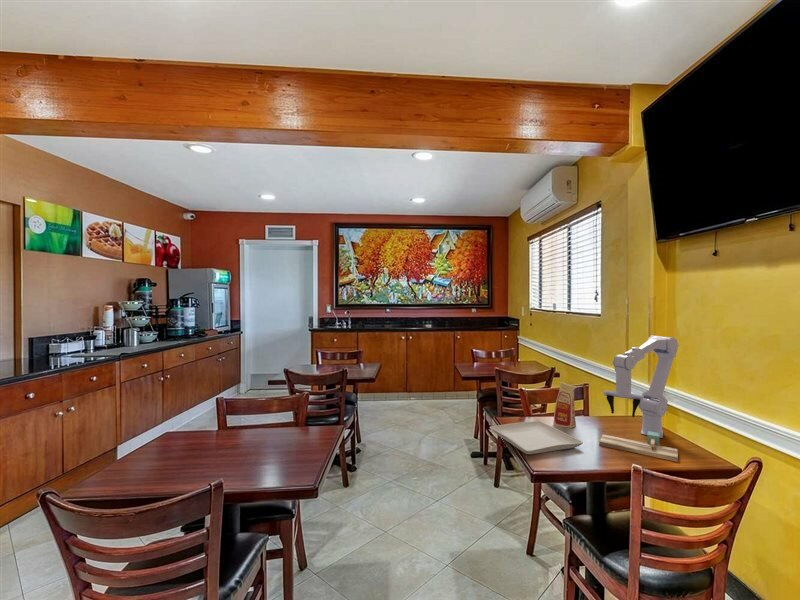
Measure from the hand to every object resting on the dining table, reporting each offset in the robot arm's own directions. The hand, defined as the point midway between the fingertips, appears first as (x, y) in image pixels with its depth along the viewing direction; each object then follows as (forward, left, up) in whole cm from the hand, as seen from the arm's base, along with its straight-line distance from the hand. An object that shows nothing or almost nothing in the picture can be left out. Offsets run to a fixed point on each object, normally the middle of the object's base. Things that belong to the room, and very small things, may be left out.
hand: (622, 414), depth 163 cm
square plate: (+26, -30, -11) cm, 41 cm away
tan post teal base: (+5, +11, -10) cm, 16 cm away
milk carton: (-5, -24, -11) cm, 27 cm away
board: (+9, +6, -10) cm, 15 cm away
